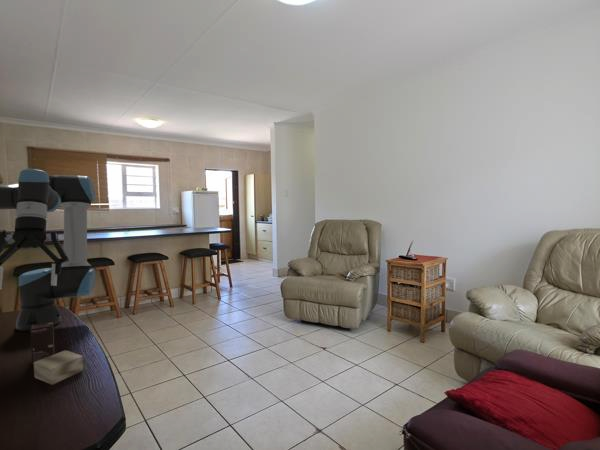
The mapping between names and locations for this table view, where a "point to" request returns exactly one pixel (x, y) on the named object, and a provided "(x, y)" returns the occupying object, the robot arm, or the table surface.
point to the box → (42, 341)
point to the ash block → (58, 367)
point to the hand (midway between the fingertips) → (26, 287)
